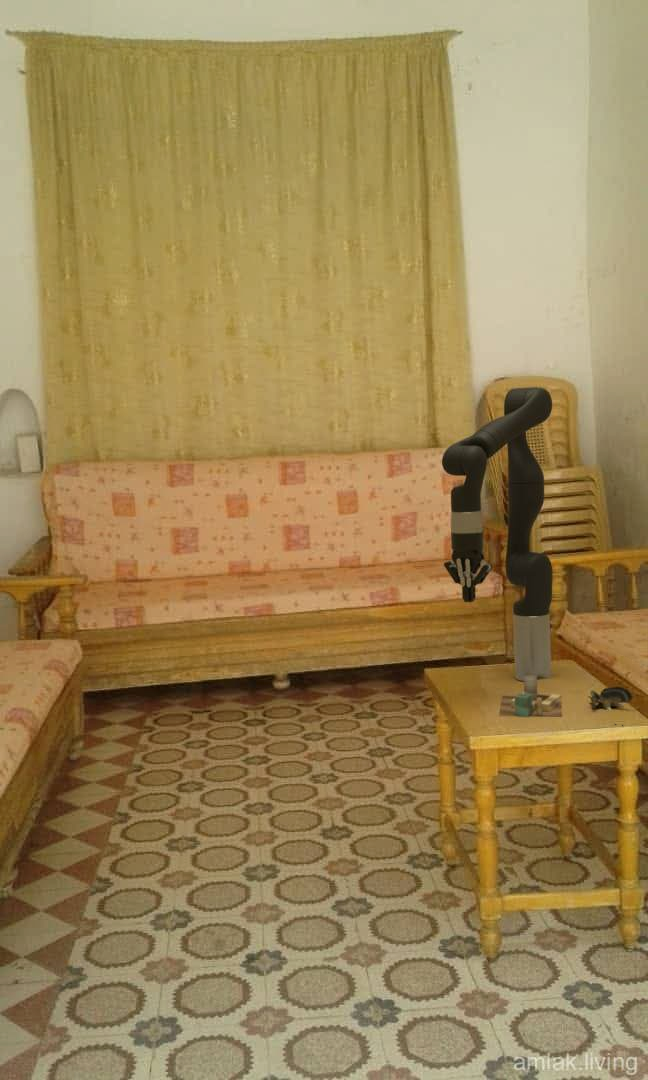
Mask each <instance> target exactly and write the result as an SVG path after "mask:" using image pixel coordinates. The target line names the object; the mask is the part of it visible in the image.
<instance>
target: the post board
mask: <svg viewBox="0 0 648 1080" xmlns="http://www.w3.org/2000/svg"><path fill="white" fill-rule="evenodd" d="M523 692H524V694H532V700H534V701H537V692H538V680H537V676H535V675H525V676H524V681H523ZM515 696H516V695H501V701H500V708H499V713H498V716H499V717H518V716H517V715H515V708H511V700H513V699H514V698H515ZM528 717H529V718H530V717H532V718H533V717H534V718H535V717H540V718H541V717H542V718H543V717H545V718H546V717H548V718H550V717H551V718H553V717H555V718H556V717H557V718H562V717H563V707H562V702H561V703H560V704H558V705H557V706H556V707H555V708H553V709H552V710H551V711H549V712H542V716H537V711H534V712H533V713H532V714H531V715H529V716H528ZM528 717H527V718H528Z"/></svg>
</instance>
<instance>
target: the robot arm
mask: <svg viewBox="0 0 648 1080" xmlns="http://www.w3.org/2000/svg"><path fill="white" fill-rule="evenodd" d="M552 410H553V400H552V396H551V394H550V392H549V391H548V390H547V389H546V388H543V387H535V386H534V387H517V388H511V389H509V390H508V391H507V392H506V394H505V398H504V401H503V416H499V417H497V418H496V419H493V420H491V421H489V422H487V423H485V424H484V425H483V426H482V427H480V428H479V429H478V430H476V431H475V432H474V433H473V434H472V435H470V436H468V437H464V438H463V439H461V440H458V441H457V442H454V443H453V444H451V445H450V446H449V447H447V448H446V449H445V451H444V452H443V454H442V458H441V466H442V469H443V471H444V472H445V473H446V474H449V475H450V476H458V477H459V476H461V477H462V476H463V477H464V476H465V478H464V482H463V484H462V485H458V486H454V487H452V489H451V491H450V509H451V510H450V511H451V512H450V540H451V541H450V542H451V545H450V546H451V550H452V553H451V559H449V560H448V561H447V562H444V563H443V566H444V568H445V569H446V571H447V572H448V574H449V575H450V577H451V579H452V580H453V582H454V583H455V584H458V585H460V586H461V593H462V594H461V595H462V596H461V598H462V599H463V602H465V603H473V602H474V601H475V600H476V598H477V597H476V586H477V585H481V584H483V582H484V581H485V580H486V578H487V577H488V575H489V574H490V572H491V571H492V569H493V567H494V566H493V564H492V563H488V562H487V561H486V560H485V555H484V553H483V549H484V530H483V529H484V528H483V527H484V526H483V525H484V524H483V516H482V502H481V500H482V499H481V495H482V488H483V483H484V479H485V475H486V471H487V465H488V463H487V462H488V460H489V459H490V458H492V457H493V456H494V455H496V453H498V452H499V451H500V450H502V449H503V448H504V447H505V446H506V447H507V502H508V515H507V517H508V518H507V519H508V520H507V522H508V523H507V524H508V525H507V527H508V528H507V543H506V553H505V574H506V578H507V580H508V581H509V583H510V584H511V585H513V586H517V587H522V588H523V587H524V588H525V592H524V596H523V598H522V599H519V600H517V601H515V602H514V603H513V604H512V611H513V612H512V614H513V615H512V617H513V621H512V622H513V643H514V644H513V645H514V647H513V648H514V653H513V654H514V679H516V680H518V681H522V682H524V676H525V675H535V676H537V681H538V680H545V679H546V680H547V679H551V678H552V672H551V671H552V669H551V667H552V666H551V665H552V663H551V661H552V660H551V631H550V630H551V624H550V623H551V622H550V606H551V603H552V599H553V575H554V574H553V572H554V571H553V566H552V562H551V560H550V558H549V556H547V554H545V553H540V552H533V551H531V546H530V545H531V533H532V529H533V526H534V523H535V522H536V520H537V518H538V516H539V515H540V512H541V511H542V507H543V505H544V501H545V477H544V476H545V475H544V473H543V470H542V467H541V465H540V463H539V462H538V460H537V459H536V457H535V455H534V454H533V452H532V450H531V448H530V446H529V442H528V440H527V431H529V430H531V429H532V428H535V427H536V426H539V425H541V424H542V423H544V422H546V421H547V419H549V417H550V416H551V413H552Z"/></svg>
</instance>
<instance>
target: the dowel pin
mask: <svg viewBox="0 0 648 1080" xmlns="http://www.w3.org/2000/svg"><path fill="white" fill-rule="evenodd" d="M537 716H542V698H537Z"/></svg>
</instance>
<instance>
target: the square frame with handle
mask: <svg viewBox="0 0 648 1080" xmlns="http://www.w3.org/2000/svg"><path fill="white" fill-rule="evenodd" d="M514 696H515V698H514V699H513V700H511V708H515V715H517V716H516V717H527V718H528V716H529V715H531V714H532V713H533V712H534V711H537V701H534V700H532V694H524V691H523V692H520V693H517V694H516V695H514ZM537 698H542V712H549V711H551V710H552V709H553V708H555V707H556V706H557V705H558V704H560V703H561V704H562V694H558V693H550V692H549V693H548V692H538V691H537Z"/></svg>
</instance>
